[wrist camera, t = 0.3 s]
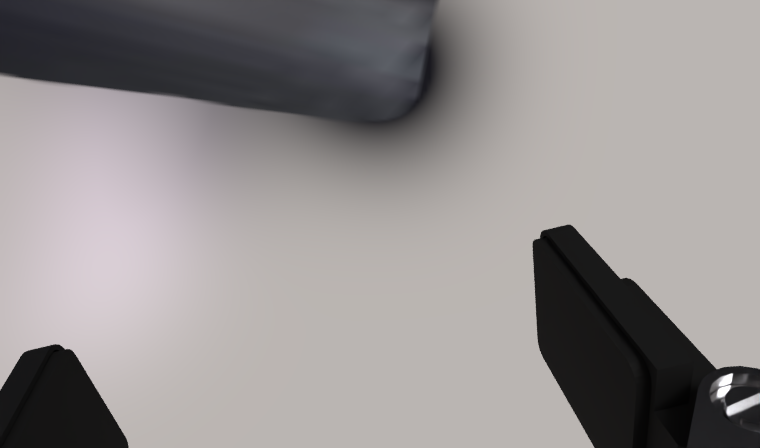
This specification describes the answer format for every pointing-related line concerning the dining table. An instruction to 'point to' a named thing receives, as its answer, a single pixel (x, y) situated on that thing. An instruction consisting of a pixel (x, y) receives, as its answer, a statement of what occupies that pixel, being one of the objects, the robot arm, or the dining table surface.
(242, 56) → the dining table surface
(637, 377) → the robot arm
